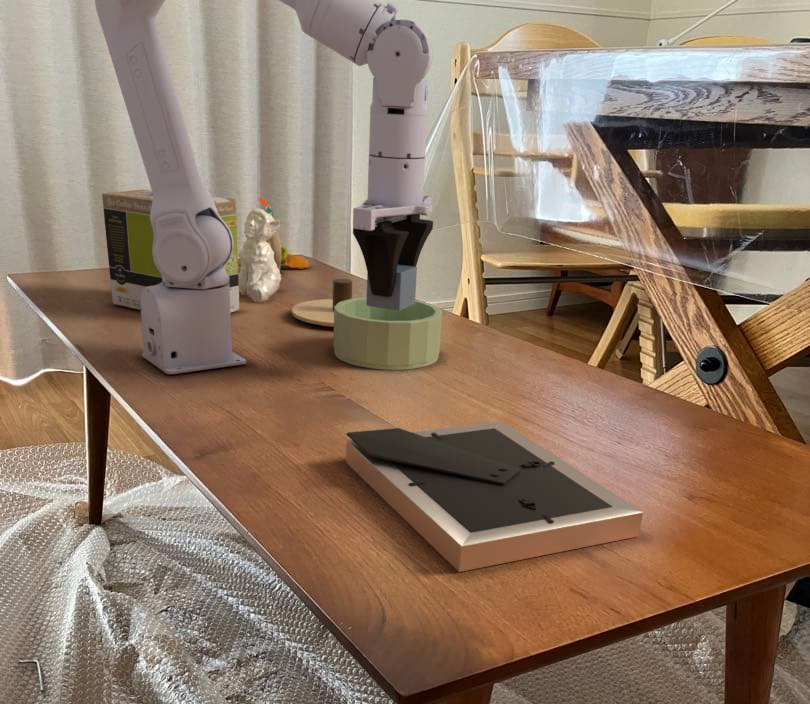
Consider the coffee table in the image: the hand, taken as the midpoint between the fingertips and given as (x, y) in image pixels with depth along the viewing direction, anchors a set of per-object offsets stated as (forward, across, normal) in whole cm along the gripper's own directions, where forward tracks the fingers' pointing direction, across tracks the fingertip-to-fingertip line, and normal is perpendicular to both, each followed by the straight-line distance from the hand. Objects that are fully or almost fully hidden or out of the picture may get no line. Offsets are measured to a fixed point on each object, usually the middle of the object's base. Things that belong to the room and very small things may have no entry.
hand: (390, 291), depth 99 cm
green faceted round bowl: (+9, +8, +4) cm, 13 cm away
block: (+1, 0, 0) cm, 1 cm away
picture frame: (+10, -25, -21) cm, 34 cm away
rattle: (+10, +42, +40) cm, 58 cm away
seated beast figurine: (+10, +25, +34) cm, 43 cm away
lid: (+9, +20, +17) cm, 27 cm away
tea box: (+10, +11, +38) cm, 40 cm away
